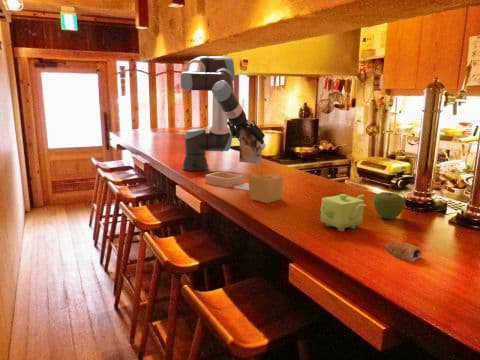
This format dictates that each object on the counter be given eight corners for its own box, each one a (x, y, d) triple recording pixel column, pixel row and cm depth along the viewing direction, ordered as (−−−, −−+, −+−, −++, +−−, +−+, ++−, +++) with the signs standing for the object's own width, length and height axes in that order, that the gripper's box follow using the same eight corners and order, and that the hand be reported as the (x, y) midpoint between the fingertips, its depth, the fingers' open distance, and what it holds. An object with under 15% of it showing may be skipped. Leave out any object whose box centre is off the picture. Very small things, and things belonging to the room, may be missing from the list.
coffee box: (262, 162, 179) (263, 127, 175) (256, 163, 173) (257, 128, 170) (244, 160, 183) (245, 126, 179) (238, 161, 177) (239, 127, 174)
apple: (365, 215, 142) (368, 189, 140) (385, 212, 147) (387, 187, 145) (389, 224, 133) (392, 197, 131) (409, 220, 138) (412, 193, 136)
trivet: (246, 184, 189) (246, 182, 188) (265, 187, 182) (265, 186, 182) (233, 187, 180) (233, 186, 180) (252, 191, 174) (252, 190, 173)
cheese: (264, 195, 169) (265, 172, 167) (283, 200, 162) (284, 176, 159) (248, 198, 162) (248, 175, 160) (267, 204, 154) (268, 180, 152)
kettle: (361, 221, 136) (364, 191, 133) (366, 235, 122) (370, 201, 120) (318, 218, 138) (320, 188, 136) (319, 231, 125) (321, 198, 122)
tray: (220, 179, 198) (220, 171, 197) (243, 183, 190) (243, 175, 189) (205, 182, 189) (205, 174, 188) (228, 187, 181) (228, 179, 180)
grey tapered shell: (380, 251, 110) (381, 239, 109) (394, 247, 114) (395, 235, 113) (410, 263, 102) (411, 250, 101) (424, 258, 106) (426, 245, 105)
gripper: (210, 118, 168) (232, 150, 184) (252, 121, 155) (271, 155, 171) (218, 105, 171) (239, 138, 187) (260, 107, 158) (278, 142, 174)
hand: (254, 146), depth 179 cm, fingers closed on coffee box, 10 cm apart
